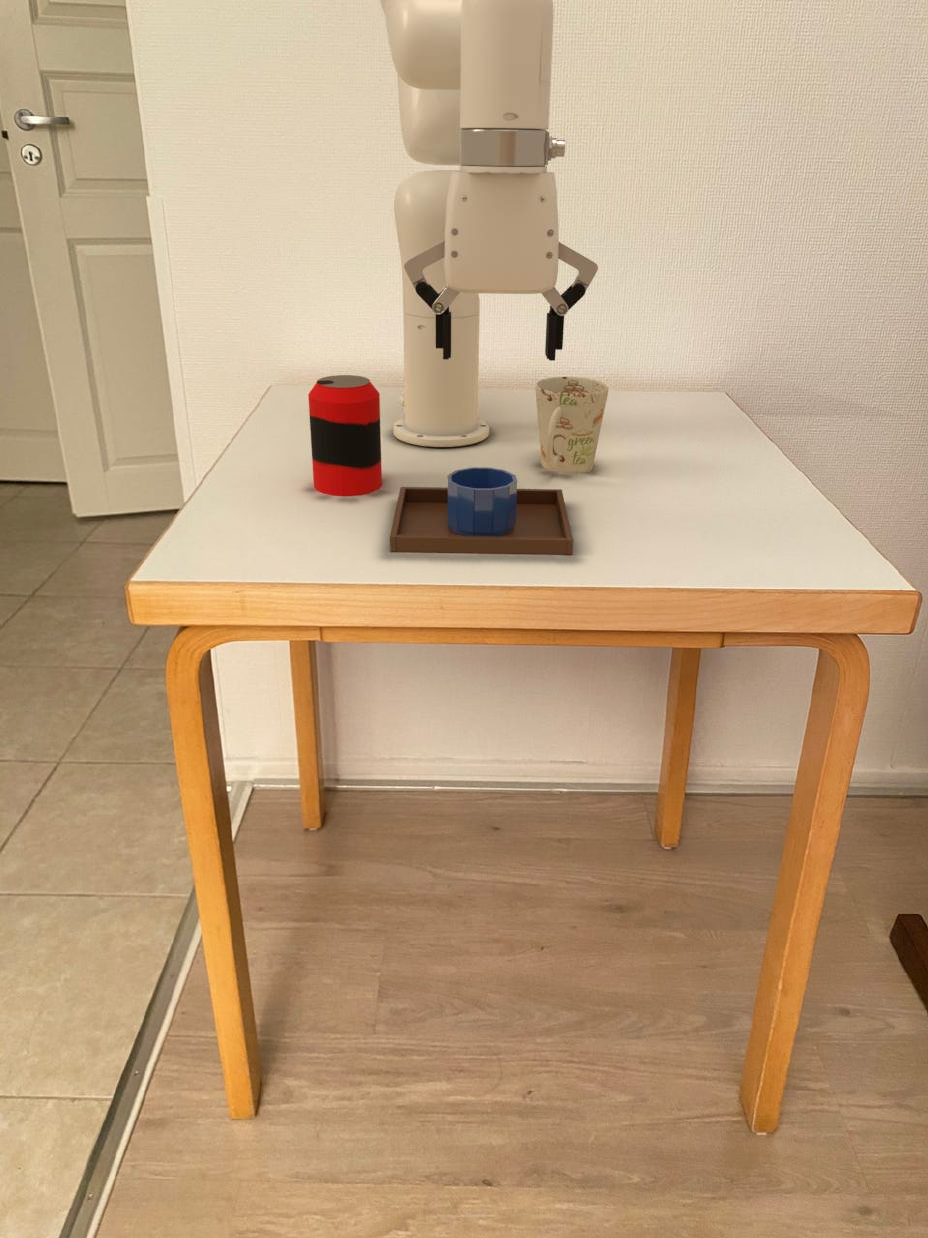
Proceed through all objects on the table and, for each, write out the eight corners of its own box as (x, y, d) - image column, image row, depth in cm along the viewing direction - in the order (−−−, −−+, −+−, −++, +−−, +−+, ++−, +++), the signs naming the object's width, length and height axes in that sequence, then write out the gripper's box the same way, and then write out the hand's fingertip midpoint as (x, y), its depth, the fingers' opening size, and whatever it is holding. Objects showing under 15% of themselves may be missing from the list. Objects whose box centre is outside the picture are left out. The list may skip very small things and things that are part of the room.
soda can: (307, 481, 111) (301, 375, 106) (372, 474, 113) (368, 371, 108) (322, 503, 105) (315, 392, 99) (390, 495, 107) (387, 386, 102)
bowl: (434, 521, 99) (434, 474, 97) (490, 509, 102) (491, 463, 100) (470, 543, 94) (471, 494, 92) (528, 529, 97) (530, 482, 95)
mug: (608, 462, 119) (615, 380, 114) (585, 495, 108) (591, 406, 104) (542, 454, 121) (546, 373, 117) (513, 486, 111) (516, 398, 106)
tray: (390, 556, 92) (389, 536, 91) (400, 504, 105) (400, 486, 104) (572, 559, 92) (573, 540, 91) (560, 506, 105) (561, 489, 104)
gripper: (599, 154, 87) (586, 350, 94) (405, 152, 87) (408, 348, 94) (610, 155, 80) (595, 366, 88) (399, 153, 80) (403, 364, 88)
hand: (498, 357), depth 91 cm, fingers open, 9 cm apart
